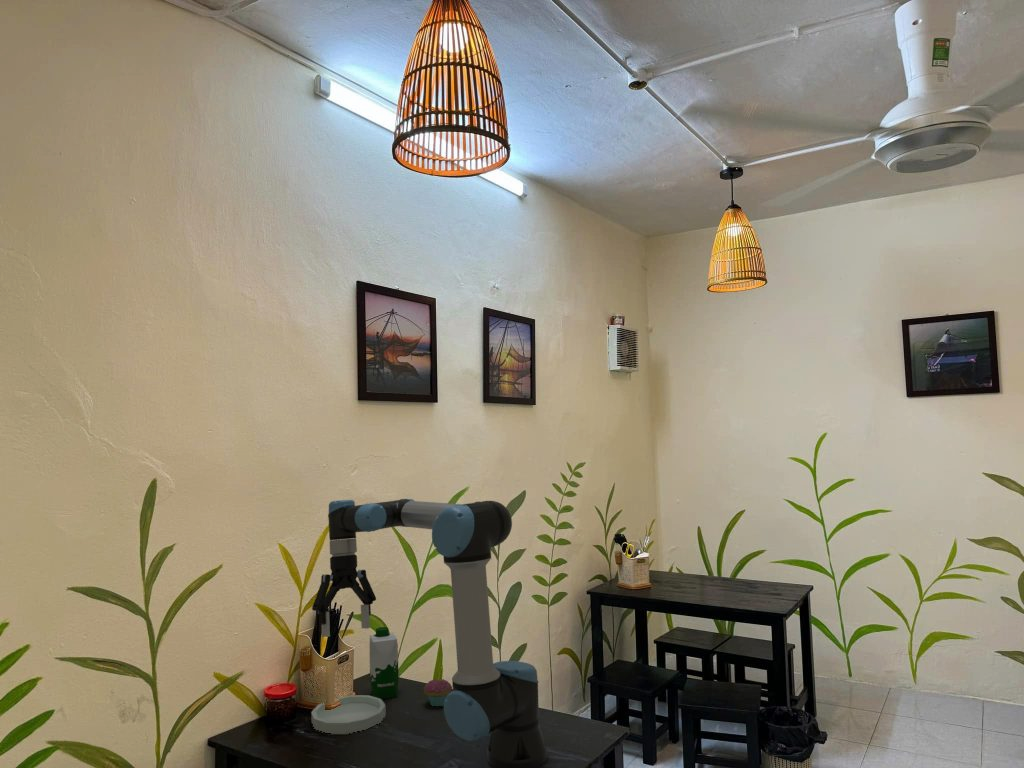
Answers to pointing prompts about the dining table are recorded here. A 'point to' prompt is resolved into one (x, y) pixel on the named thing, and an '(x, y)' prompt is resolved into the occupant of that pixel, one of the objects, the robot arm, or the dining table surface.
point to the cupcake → (437, 690)
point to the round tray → (349, 715)
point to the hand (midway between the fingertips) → (346, 632)
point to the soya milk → (384, 664)
